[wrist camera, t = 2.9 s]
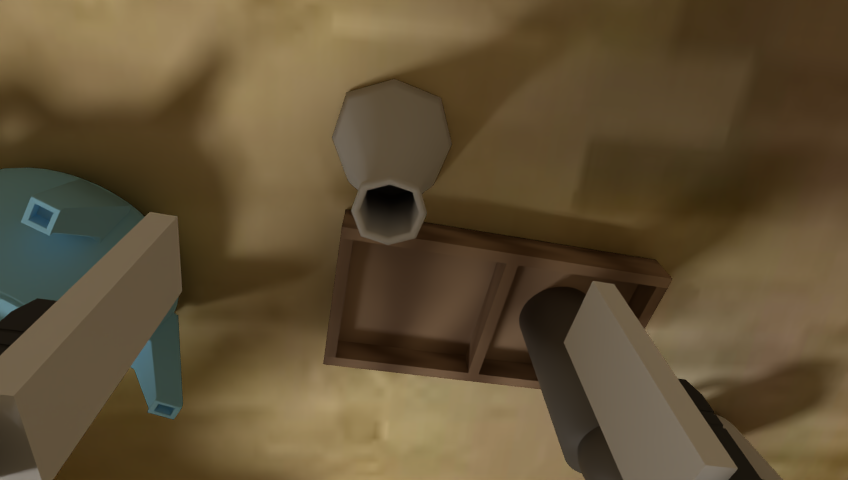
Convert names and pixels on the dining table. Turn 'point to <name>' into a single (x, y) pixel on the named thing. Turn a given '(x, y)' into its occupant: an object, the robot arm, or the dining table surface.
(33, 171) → the teapot
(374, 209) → the flask
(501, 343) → the caddy
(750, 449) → the cup
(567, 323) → the pepper mill
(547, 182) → the dining table surface
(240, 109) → the dining table surface
